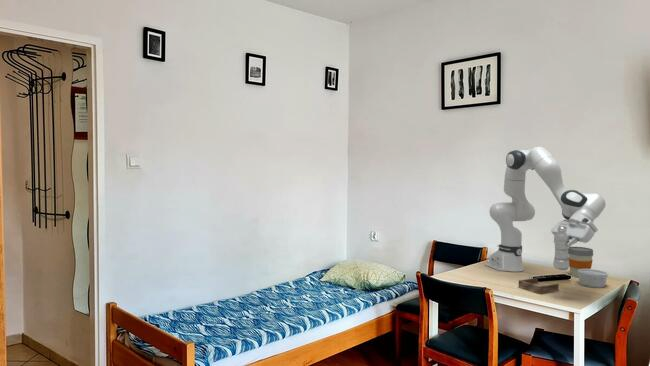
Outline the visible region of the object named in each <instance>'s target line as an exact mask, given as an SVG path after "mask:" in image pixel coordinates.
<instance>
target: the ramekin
mask: <svg viewBox="0 0 650 366" xmlns="http://www.w3.org/2000/svg"><path fill="white" fill-rule="evenodd" d="M578 273H579V277H578V282H579V284H580V285H582V286H585V287H589V288H599V289H600V288H604V287H605V286H606V285H607V280H608V279H607V278H608V275H609V274H608V272H606V271H604V270H599V269H594V268H593V269H592V268H590V269H579V270H578Z"/></svg>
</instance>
